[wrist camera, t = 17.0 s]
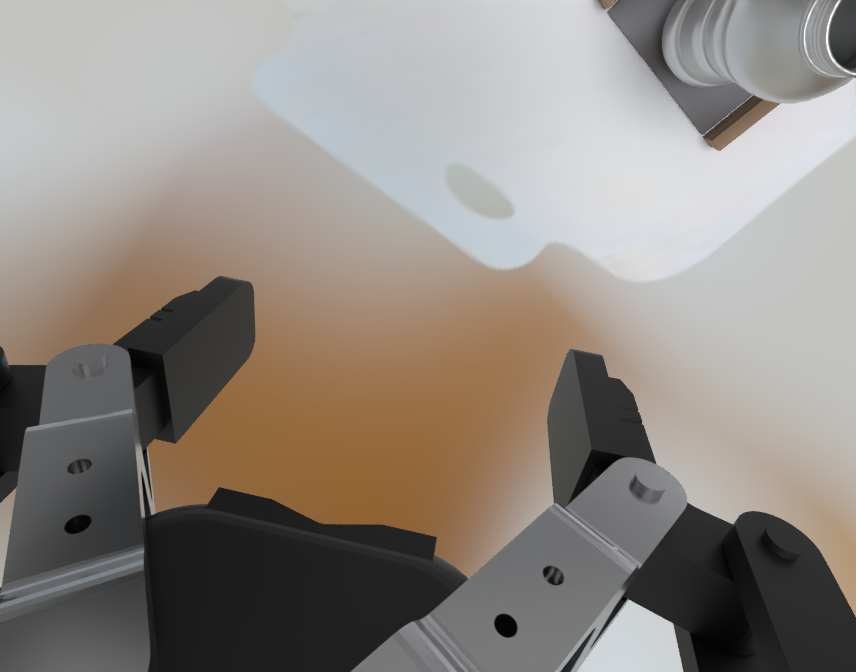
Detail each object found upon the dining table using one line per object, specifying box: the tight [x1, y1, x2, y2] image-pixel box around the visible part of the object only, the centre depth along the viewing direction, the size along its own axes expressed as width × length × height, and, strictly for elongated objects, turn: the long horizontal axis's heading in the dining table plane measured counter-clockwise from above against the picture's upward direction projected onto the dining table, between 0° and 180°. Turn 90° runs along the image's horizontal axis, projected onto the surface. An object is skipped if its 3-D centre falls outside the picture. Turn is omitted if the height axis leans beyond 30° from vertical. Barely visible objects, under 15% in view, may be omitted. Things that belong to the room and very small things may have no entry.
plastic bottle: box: [662, 0, 856, 103], centre depth 27 cm, size 6×7×20 cm
